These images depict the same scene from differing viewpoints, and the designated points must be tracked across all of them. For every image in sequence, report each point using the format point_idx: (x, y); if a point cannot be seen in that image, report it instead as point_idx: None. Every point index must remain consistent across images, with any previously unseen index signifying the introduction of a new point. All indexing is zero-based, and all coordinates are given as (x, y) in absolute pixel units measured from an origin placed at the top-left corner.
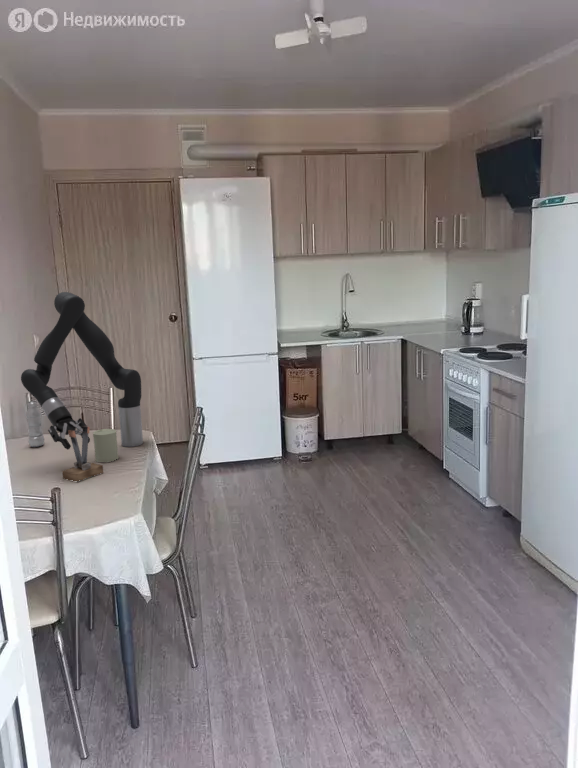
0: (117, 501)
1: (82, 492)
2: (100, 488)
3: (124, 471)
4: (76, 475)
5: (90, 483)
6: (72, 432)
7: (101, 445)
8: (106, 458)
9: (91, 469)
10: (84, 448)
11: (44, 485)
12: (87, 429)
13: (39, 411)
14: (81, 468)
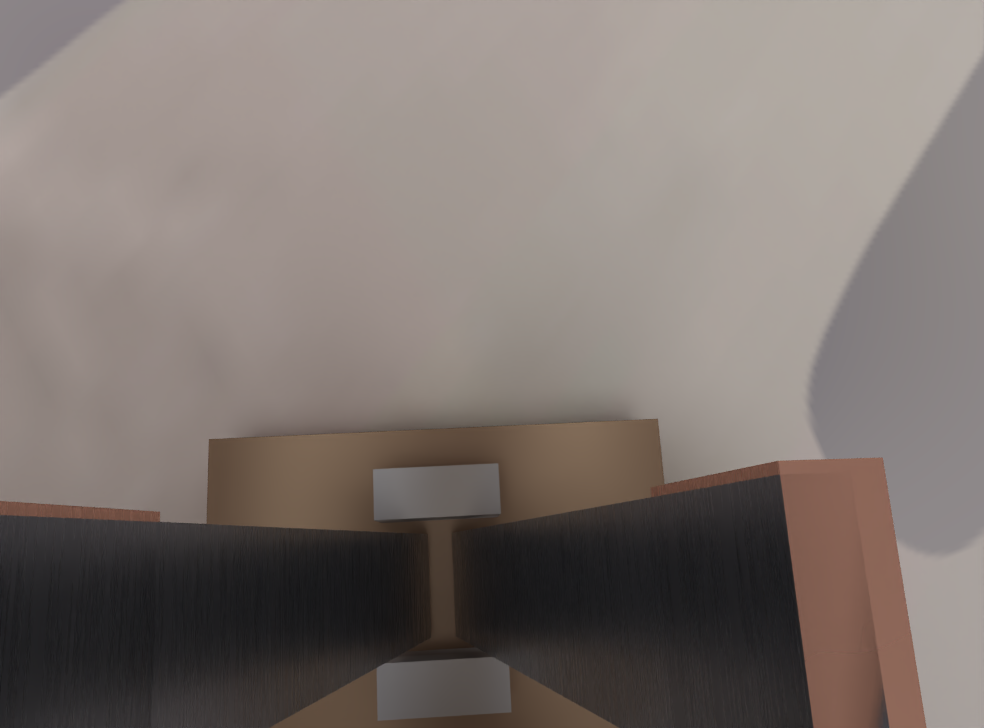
0: None
1: (771, 132)
2: (597, 73)
3: (78, 271)
4: (653, 419)
5: (564, 278)
6: (857, 492)
7: None
8: None
9: (407, 430)
10: (343, 593)
11: (926, 696)
12: (59, 513)
13: None
14: None
